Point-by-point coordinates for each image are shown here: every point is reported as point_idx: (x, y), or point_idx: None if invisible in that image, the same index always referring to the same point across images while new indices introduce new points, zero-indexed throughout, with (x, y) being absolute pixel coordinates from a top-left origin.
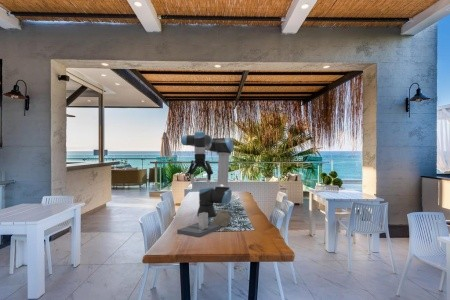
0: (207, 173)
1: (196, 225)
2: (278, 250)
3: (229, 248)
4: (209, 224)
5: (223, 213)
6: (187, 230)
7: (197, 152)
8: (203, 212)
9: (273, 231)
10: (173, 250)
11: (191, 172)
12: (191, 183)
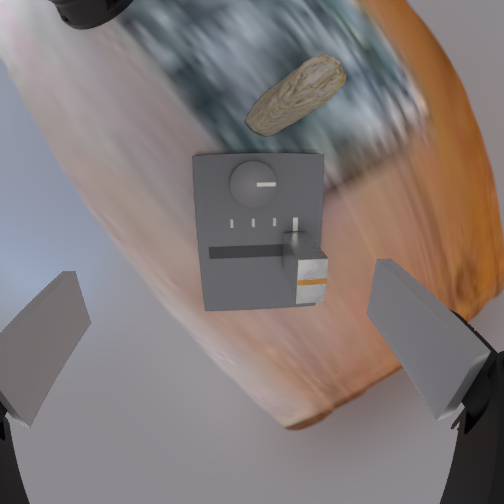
0: (467, 437)
1: (223, 213)
2: (496, 275)
3: None
4: (266, 162)
5: (324, 94)
6: (249, 300)
7: None
8: (301, 266)
9: (472, 114)
10: (314, 398)
11: (7, 453)
12: (84, 324)
